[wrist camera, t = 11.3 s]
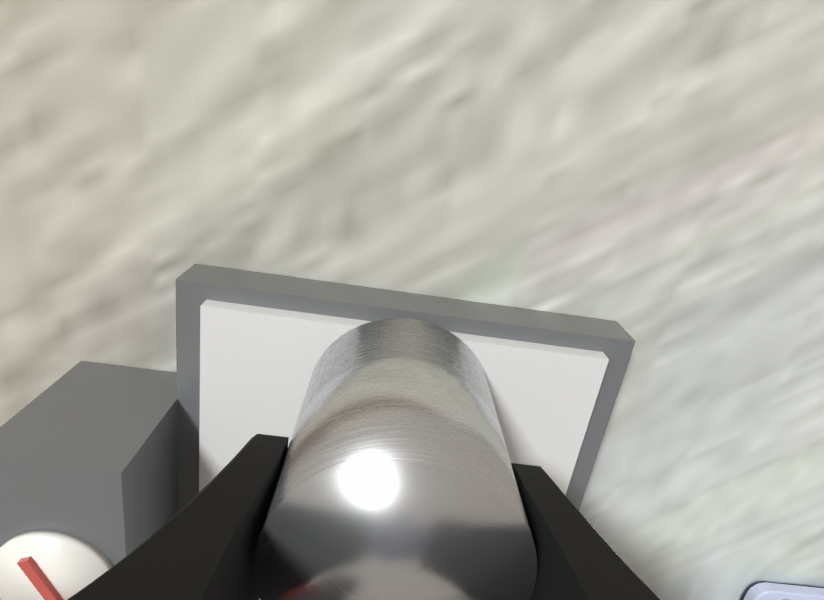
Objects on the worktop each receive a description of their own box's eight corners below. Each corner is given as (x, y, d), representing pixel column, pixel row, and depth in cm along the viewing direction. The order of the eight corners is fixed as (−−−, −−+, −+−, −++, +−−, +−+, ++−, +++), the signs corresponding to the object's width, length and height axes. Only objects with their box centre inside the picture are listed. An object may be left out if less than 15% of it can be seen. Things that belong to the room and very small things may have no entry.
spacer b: (504, 329, 12) (567, 477, 7) (471, 480, 14) (506, 679, 9) (314, 307, 12) (256, 446, 7) (303, 464, 13) (250, 661, 9)
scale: (616, 321, 14) (703, 412, 10) (514, 643, 18) (545, 797, 14) (71, 246, 13) (-79, 314, 9) (101, 606, 17) (10, 760, 13)
